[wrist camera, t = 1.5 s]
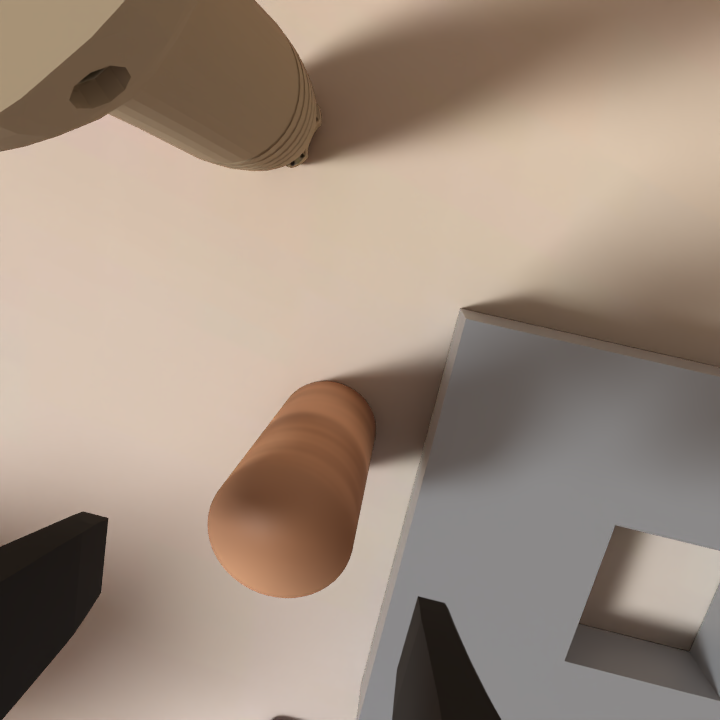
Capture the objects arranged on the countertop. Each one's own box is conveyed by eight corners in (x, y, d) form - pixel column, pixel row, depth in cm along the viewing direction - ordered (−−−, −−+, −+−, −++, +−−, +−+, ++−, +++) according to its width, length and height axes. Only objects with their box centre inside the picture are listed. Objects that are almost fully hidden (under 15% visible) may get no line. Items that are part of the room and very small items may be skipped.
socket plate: (798, 801, 24) (840, 864, 22) (360, 685, 25) (354, 734, 23) (1002, 431, 20) (1084, 460, 17) (460, 308, 21) (465, 318, 18)
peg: (364, 482, 23) (337, 613, 15) (272, 460, 23) (198, 577, 15) (385, 393, 22) (368, 484, 14) (289, 371, 22) (219, 447, 14)
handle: (389, 132, 19) (308, -151, 5) (247, 232, 21) (-143, 241, 6) (314, 7, 19) (-34, -743, 4) (173, 120, 20) (-458, -162, 6)
